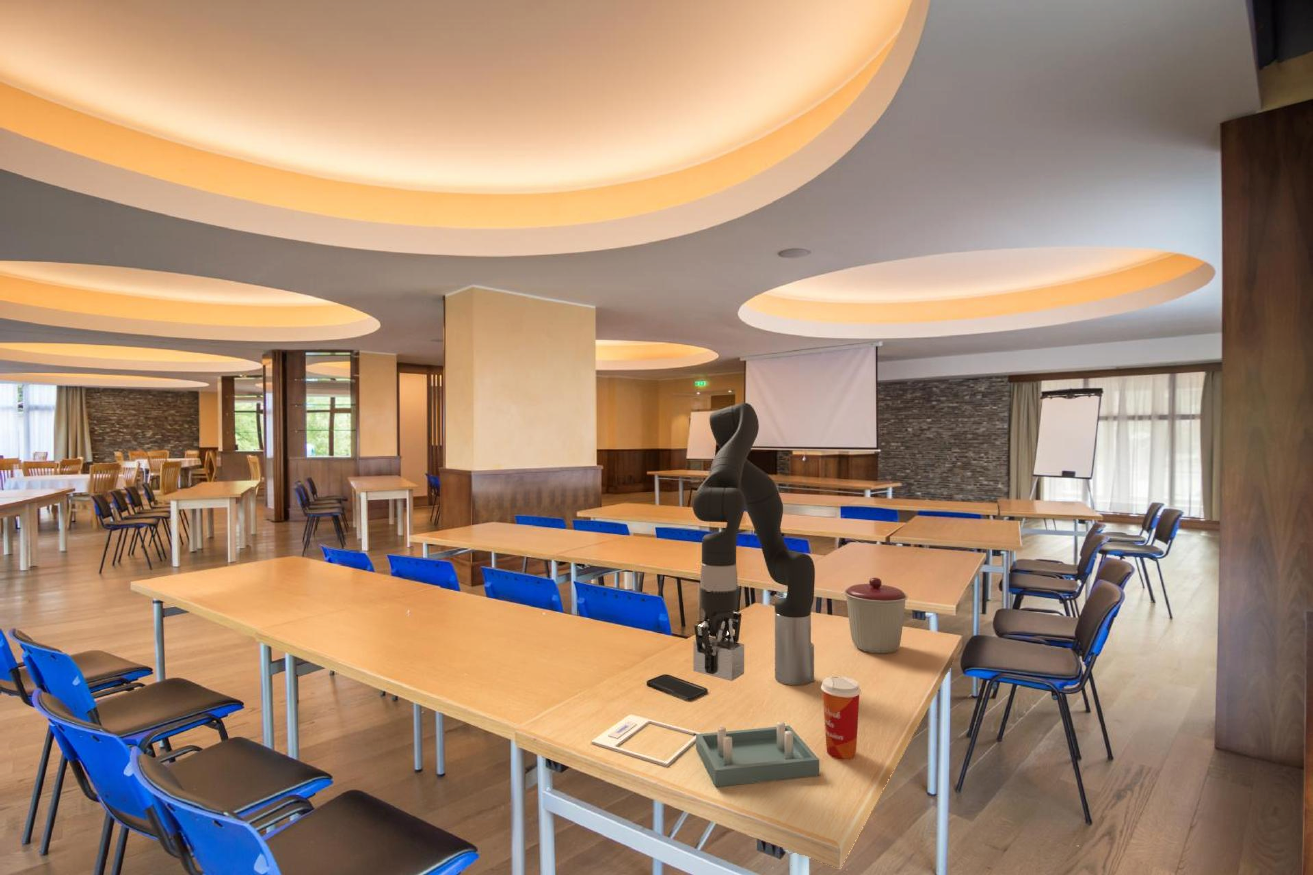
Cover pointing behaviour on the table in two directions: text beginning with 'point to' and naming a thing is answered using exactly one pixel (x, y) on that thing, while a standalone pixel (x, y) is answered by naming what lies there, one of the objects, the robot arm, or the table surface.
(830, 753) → the paper cup
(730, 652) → the block
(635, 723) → the photo frame
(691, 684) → the phone
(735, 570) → the robot arm
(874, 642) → the canister
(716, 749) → the tray
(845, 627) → the table surface
